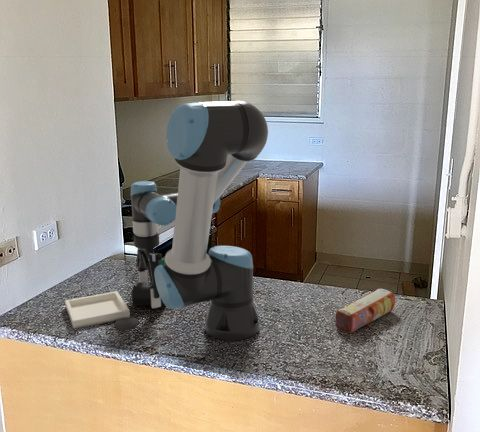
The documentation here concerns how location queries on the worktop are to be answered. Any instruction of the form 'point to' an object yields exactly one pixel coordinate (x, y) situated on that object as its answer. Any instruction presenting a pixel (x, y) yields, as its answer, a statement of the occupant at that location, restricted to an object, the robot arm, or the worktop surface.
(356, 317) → the snack package
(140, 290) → the end cap
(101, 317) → the mount tray
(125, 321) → the lens cap
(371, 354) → the worktop surface
